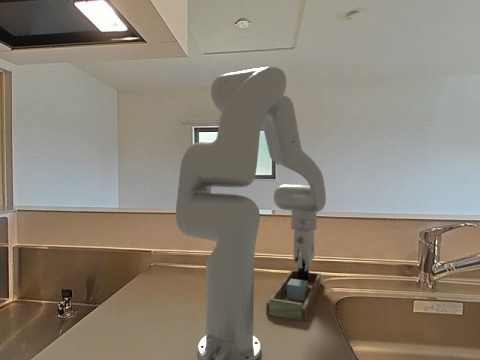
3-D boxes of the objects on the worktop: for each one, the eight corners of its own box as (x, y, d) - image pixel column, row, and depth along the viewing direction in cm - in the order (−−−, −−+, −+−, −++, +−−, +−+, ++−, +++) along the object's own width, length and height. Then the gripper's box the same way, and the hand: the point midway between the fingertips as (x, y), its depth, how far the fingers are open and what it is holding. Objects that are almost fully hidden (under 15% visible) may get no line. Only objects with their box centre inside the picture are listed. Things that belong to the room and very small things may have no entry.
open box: (304, 321, 79) (304, 305, 79) (266, 314, 83) (266, 298, 83) (320, 283, 105) (320, 270, 105) (290, 278, 108) (291, 267, 108)
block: (304, 301, 92) (304, 286, 91) (286, 298, 93) (287, 284, 93) (307, 294, 96) (307, 280, 96) (290, 291, 98) (290, 278, 98)
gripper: (312, 229, 93) (310, 293, 94) (319, 221, 107) (318, 276, 108) (286, 227, 95) (284, 289, 96) (296, 219, 109) (295, 273, 110)
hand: (302, 282), depth 102 cm, fingers closed
